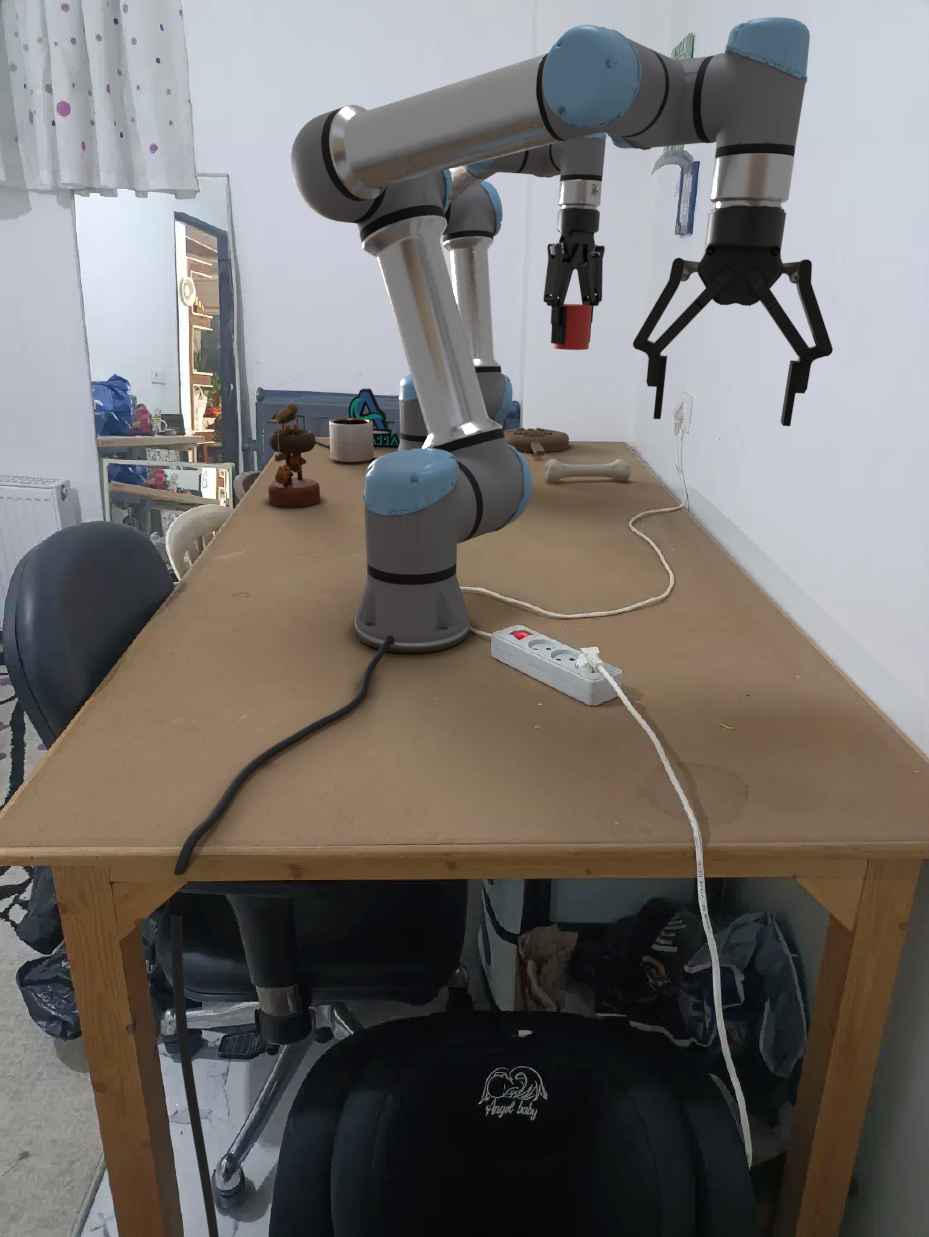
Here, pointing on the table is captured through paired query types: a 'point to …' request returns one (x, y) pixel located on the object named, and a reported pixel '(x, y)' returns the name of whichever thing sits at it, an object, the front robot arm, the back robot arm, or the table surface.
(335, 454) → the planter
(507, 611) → the table surface
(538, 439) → the ice cream bar
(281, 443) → the music box
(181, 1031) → the front robot arm
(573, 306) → the canister
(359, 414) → the decorative sign
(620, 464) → the dog toy
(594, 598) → the table surface
